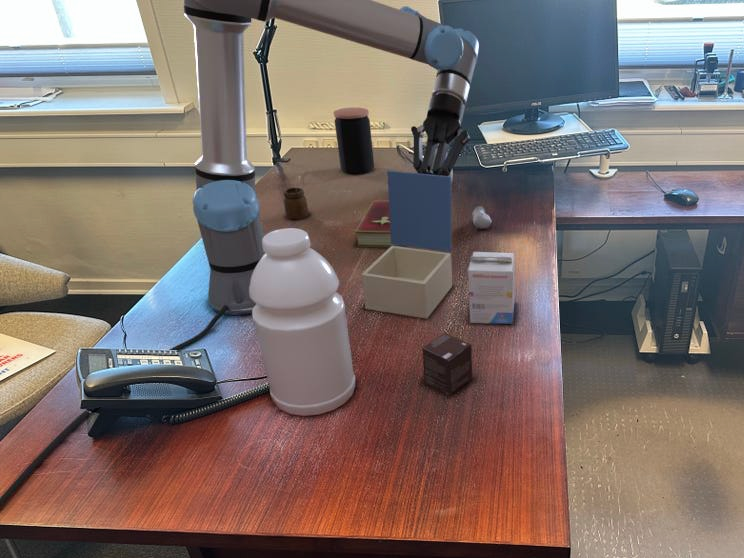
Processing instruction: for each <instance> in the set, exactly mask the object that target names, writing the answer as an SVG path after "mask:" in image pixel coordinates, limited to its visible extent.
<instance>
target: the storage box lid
mask: <svg viewBox="0 0 744 558" xmlns="http://www.w3.org/2000/svg"><path fill="white" fill-rule="evenodd" d="M386 174H387V189H388V201H389V212H390V232H391V244H396V245H403V246H404V247H410V248H417V249H425V250H432V251H440V252H448V253H451V252H452V251H453V248H452V247H453V245H452V244H453V241H452V239H453V237H452V236H453V235H452V233H453V230H452V229H453V227H452V222H453V221H452V219H453V217H452V216H453V214H452V212H453V211H452V209H453V207H452V199H453V198H452V183H451V177H450V176H440V175H430V174H420V173H417V172H408V171H401V170H400V171H399V170H387V171H386Z"/></svg>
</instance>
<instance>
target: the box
mask: <svg viewBox="0 0 744 558" xmlns="http://www.w3.org/2000/svg"><path fill="white" fill-rule="evenodd" d="M421 349H422V362H423V378H424V379H423V381H424V383H425V384H426V385H429V386H430V387H433V388H435V389H436V390H439V391H440V392H443V393H445V394H446V395H450V396H451V395H452V394H453V393H455V392H456V391H458V390H459V389H460V388H462V387H463V386H465V385H466V384H467V383H469V382H470V381H471V380H473V355H472V351H473V350H472V343H470V342H467V341H465V340H463V339H460V338H458V337H456V336H454V335H452V334H449V333H447V332H444V333H443V334H441V335H440V336H438V337H437V338H435V339H433V340H432V341H430V342H429V343H427V344H425V345H424V346H422V347H421Z"/></svg>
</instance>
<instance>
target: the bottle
mask: <svg viewBox="0 0 744 558" xmlns="http://www.w3.org/2000/svg"><path fill="white" fill-rule="evenodd" d="M311 245H312V243H311V239H310V236H309V234H308V232H306V231H305V230H303V229H301V228H296V227H295V228H294V227H293V228H291V227H289V228H280V229H275V230H272V231H270V232H268V233H266V234H264V237H263V239H262V246H263V251H264V252H265V254H264V255H263V257H262V258H261V260H260V261H259V262H258V264H257V265H256V267H255V269H254V271H253V273H252V276H251V280H250V286H249V296H250V298H251V299H252V300H253V301H254V302H255V303H256V305H255V307H254V308H253V310H252V314H251V315H252V322H253V325H254V328H255V333H256V337H257V340H258V344H259V349H260V353H261V357H262V362H263V366H264V369H265V373H266V379H267V382H268V386H269V393H270V397H271V400H272V402H273V403H274V405H276V407H278V409H279V410H281V411H283V412H285V413H287V414H290V415H295V416H303V417H307V416H316V415H321V414H325V413H328V412H331V411H334V410H336V409H338V408H339V407H341V406H343V405H344V404H346V403H347V402H348V400H349V399H351V397H352V396H353V395H354V391H355V388H356V375H355V372H354V365H353V364H354V363H353V358H352V349H351V343H350V338H349V329H348V322H347V315H346V313H347V312H346V305H345V301H344V299H343V296H342V295H341V294H340V293H339V292H337V291H338V288H339V286H340V280H339V276H338V275H337V273H336V272H335V270H334V267H333V266H332V264H330V262H329V261H328V260H327V259H326V258H325V257H324V256H323V255H322V254H320V253H319V252H317V251H316V250H315V249H313V248H312V247H311Z"/></svg>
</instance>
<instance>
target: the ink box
mask: <svg viewBox="0 0 744 558" xmlns="http://www.w3.org/2000/svg"><path fill="white" fill-rule="evenodd" d="M515 256H516V255H515V253H514V252H496V251H495V252H490V251H472V255H471V256H470V257H469V259H470V262H469V265H468V268H467V282H468V286H467V287H468V305H469V306H468V307H469V308H468V309H469V323H470V324H491V325H495V324H497V325H513V323H514V312H515V270H516V269H515V265H516V263H515Z"/></svg>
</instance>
